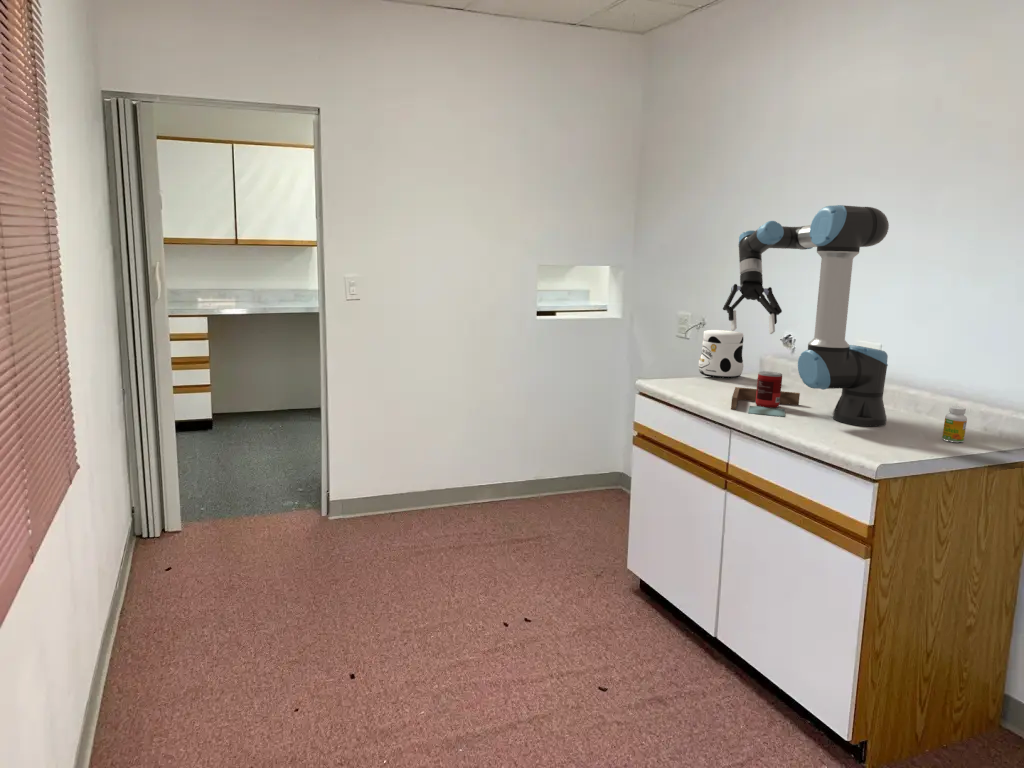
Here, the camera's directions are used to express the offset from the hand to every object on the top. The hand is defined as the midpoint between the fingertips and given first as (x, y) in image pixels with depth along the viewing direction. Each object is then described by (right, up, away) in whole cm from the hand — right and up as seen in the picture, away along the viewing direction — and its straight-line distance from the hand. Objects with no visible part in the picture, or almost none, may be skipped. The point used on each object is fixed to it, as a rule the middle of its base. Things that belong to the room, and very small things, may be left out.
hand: (753, 331), depth 262 cm
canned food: (+2, -26, -8) cm, 27 cm away
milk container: (0, -16, +44) cm, 47 cm away
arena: (+1, -26, -11) cm, 28 cm away
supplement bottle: (+42, -35, -46) cm, 71 cm away
